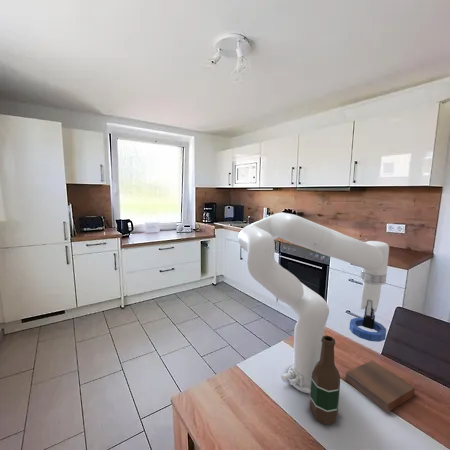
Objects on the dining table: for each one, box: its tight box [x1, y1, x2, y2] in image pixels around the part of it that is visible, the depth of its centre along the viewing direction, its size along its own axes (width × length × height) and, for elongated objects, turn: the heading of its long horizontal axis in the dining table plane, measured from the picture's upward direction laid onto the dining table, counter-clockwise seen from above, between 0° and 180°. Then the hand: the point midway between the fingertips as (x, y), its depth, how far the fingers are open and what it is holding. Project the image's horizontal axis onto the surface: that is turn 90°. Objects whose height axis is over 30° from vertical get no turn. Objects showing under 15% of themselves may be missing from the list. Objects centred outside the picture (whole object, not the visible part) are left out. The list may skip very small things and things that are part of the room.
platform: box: [345, 359, 416, 414], centre depth 81 cm, size 14×14×3 cm
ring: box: [348, 317, 387, 343], centre depth 83 cm, size 11×11×2 cm
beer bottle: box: [309, 335, 341, 426], centre depth 70 cm, size 8×8×24 cm
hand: (368, 325), depth 87 cm, fingers closed on ring, 2 cm apart
